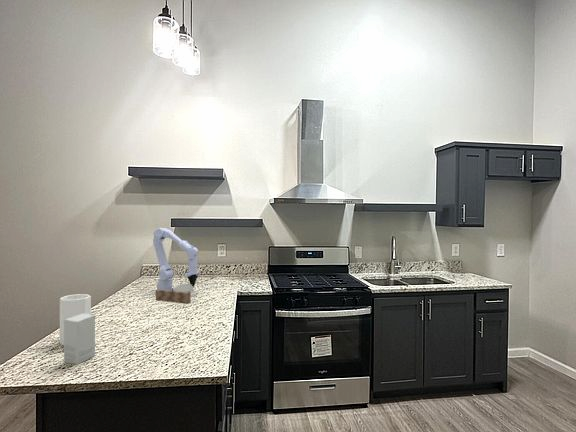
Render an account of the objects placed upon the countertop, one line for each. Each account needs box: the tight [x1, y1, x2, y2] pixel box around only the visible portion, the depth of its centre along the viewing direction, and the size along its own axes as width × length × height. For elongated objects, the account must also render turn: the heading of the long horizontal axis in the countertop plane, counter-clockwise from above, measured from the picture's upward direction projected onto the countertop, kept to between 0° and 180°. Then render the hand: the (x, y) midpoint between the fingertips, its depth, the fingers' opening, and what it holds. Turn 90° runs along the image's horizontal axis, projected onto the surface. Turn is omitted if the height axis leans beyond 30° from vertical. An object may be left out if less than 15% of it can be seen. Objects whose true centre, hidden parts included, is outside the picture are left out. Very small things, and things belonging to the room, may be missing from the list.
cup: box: [59, 293, 92, 347], centre depth 150 cm, size 11×11×18 cm
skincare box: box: [63, 313, 96, 365], centre depth 131 cm, size 8×7×16 cm
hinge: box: [170, 283, 197, 299], centre depth 229 cm, size 17×5×10 cm, turn 148°
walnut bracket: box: [155, 289, 192, 304], centre depth 223 cm, size 24×9×6 cm, turn 70°
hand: (192, 286), depth 239 cm, fingers closed
